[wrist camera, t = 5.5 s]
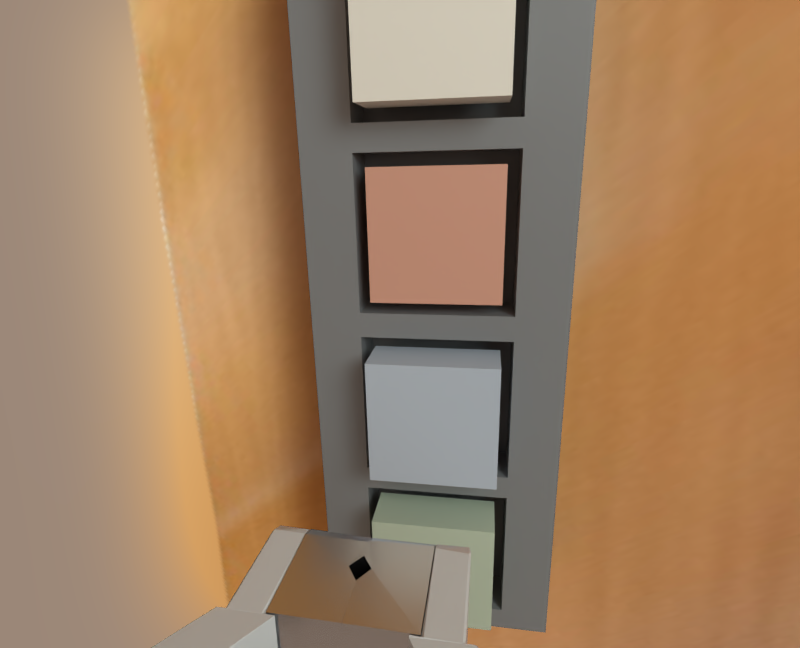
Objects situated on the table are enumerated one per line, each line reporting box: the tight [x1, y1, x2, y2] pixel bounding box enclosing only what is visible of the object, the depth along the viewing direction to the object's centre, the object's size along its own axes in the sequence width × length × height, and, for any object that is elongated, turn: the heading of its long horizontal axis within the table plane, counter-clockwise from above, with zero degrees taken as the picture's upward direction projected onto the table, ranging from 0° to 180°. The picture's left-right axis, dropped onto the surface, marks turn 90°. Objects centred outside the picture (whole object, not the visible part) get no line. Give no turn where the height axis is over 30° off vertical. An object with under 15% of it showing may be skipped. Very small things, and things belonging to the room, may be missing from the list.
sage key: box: [372, 492, 495, 630], centre depth 22 cm, size 5×5×2 cm
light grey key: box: [365, 346, 501, 490], centre depth 20 cm, size 5×5×2 cm
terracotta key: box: [365, 164, 508, 305], centre depth 20 cm, size 5×5×2 cm
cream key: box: [348, 0, 516, 108], centre depth 16 cm, size 5×5×2 cm
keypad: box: [287, 0, 596, 632], centre depth 22 cm, size 29×10×4 cm, turn 1°
